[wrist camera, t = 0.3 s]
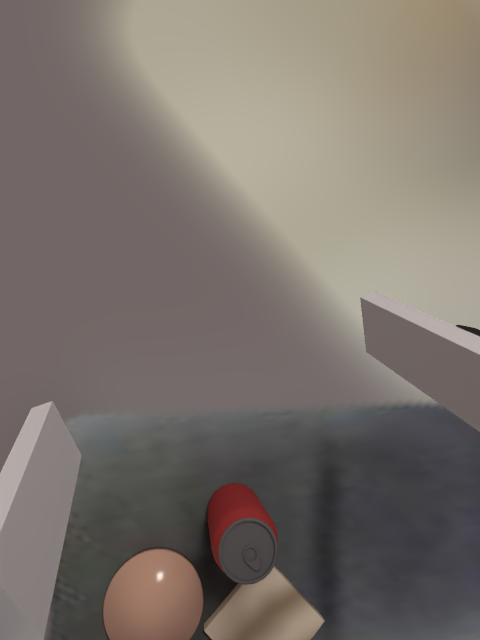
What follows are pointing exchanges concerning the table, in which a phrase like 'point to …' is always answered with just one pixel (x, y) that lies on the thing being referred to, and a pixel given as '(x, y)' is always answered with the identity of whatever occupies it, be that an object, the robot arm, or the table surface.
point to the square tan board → (264, 612)
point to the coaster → (154, 597)
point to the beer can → (241, 534)
